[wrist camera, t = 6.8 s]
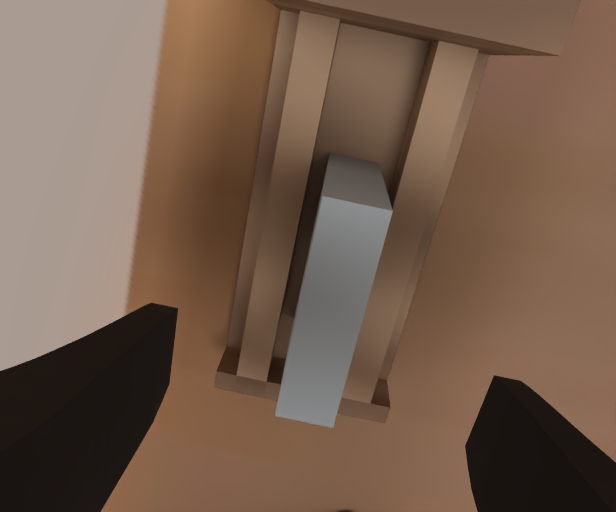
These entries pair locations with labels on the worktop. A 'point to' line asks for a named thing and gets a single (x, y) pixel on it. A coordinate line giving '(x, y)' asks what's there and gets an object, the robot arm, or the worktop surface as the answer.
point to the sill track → (368, 146)
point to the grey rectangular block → (334, 289)
